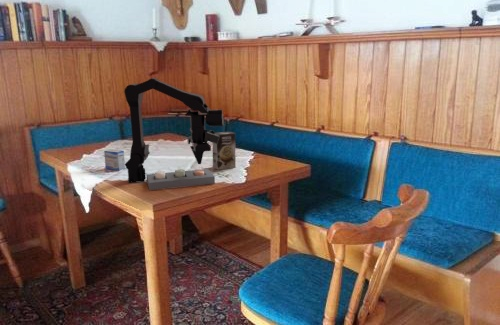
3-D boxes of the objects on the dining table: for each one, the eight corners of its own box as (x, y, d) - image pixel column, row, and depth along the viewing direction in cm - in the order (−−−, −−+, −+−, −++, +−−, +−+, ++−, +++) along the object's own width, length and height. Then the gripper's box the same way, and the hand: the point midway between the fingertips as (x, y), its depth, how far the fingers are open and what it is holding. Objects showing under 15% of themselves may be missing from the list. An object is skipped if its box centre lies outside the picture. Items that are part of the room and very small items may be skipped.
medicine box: (105, 169, 196) (103, 150, 194) (111, 166, 200) (110, 148, 198) (119, 171, 193) (117, 152, 191) (125, 168, 197) (124, 150, 195)
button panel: (149, 190, 166) (149, 182, 165) (146, 181, 177) (146, 174, 176) (214, 183, 174) (214, 176, 173) (208, 175, 185) (208, 168, 184)
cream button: (155, 181, 170) (155, 174, 169) (154, 178, 174) (154, 171, 173) (166, 180, 171) (165, 173, 170) (164, 177, 175) (164, 170, 174)
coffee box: (218, 170, 193) (217, 135, 189) (212, 166, 198) (211, 132, 194) (236, 167, 197) (235, 133, 193) (230, 164, 202) (229, 130, 198)
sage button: (176, 179, 172) (175, 172, 171) (174, 177, 176) (174, 170, 175) (185, 178, 173) (185, 171, 173) (184, 176, 177) (184, 169, 176)
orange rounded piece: (195, 180, 175) (195, 173, 174) (194, 177, 179) (193, 171, 178) (205, 179, 176) (205, 172, 175) (203, 177, 180) (203, 170, 179)
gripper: (223, 129, 166) (224, 167, 170) (212, 121, 183) (213, 157, 187) (194, 131, 162) (196, 170, 166) (186, 123, 179) (188, 159, 183)
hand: (199, 163), depth 176 cm, fingers closed
